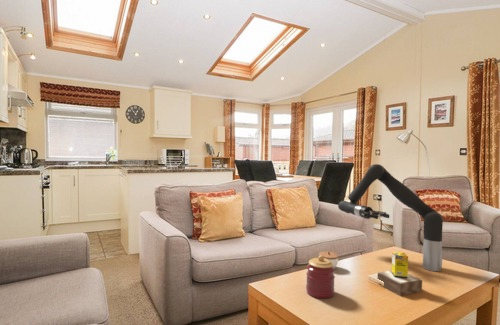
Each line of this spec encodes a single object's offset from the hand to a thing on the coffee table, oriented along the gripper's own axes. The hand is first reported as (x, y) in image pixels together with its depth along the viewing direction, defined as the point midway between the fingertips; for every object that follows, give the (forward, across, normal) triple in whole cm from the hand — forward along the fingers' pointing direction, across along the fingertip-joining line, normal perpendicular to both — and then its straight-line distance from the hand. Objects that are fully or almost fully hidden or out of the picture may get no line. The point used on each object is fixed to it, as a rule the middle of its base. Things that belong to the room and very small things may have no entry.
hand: (383, 216), depth 173 cm
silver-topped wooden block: (+23, -12, +30) cm, 40 cm away
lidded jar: (-10, -30, +30) cm, 44 cm away
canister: (+15, -53, +30) cm, 63 cm away
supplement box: (+23, -12, +24) cm, 35 cm away
